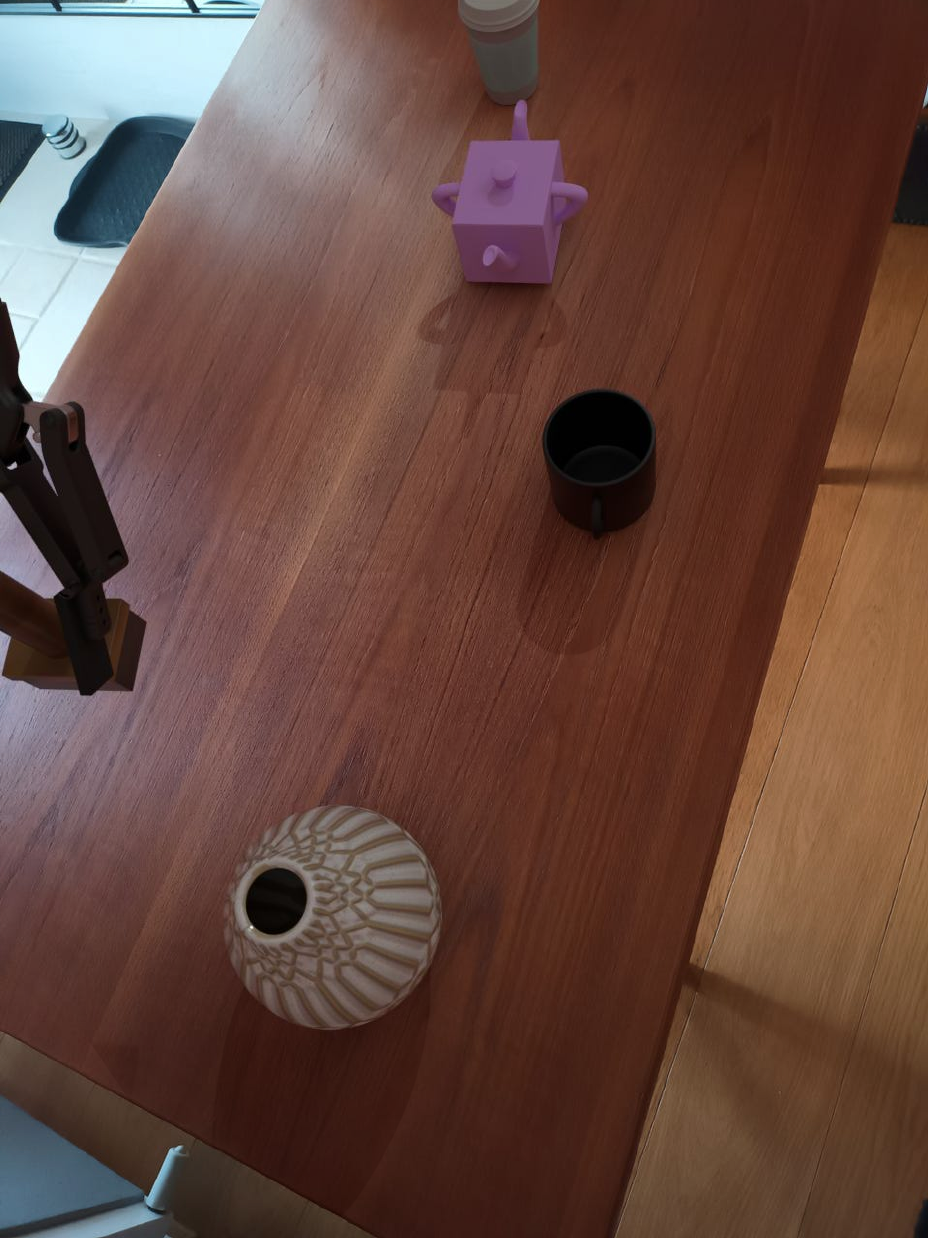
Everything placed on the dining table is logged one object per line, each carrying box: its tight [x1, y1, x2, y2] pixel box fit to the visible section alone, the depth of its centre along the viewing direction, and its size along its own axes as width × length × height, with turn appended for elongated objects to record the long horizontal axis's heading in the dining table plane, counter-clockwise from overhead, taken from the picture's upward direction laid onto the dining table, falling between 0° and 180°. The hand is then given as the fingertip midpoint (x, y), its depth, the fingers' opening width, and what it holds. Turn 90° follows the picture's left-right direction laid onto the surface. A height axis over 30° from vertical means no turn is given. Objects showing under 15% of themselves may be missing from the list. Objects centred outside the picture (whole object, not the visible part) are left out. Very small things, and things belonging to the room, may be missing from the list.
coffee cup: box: [457, 0, 541, 106], centre depth 102 cm, size 8×8×12 cm
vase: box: [222, 804, 443, 1031], centre depth 69 cm, size 16×16×20 cm
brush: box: [0, 569, 148, 692], centre depth 59 cm, size 7×5×14 cm
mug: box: [541, 388, 657, 541], centre depth 83 cm, size 9×12×9 cm
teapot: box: [431, 100, 589, 285], centre depth 94 cm, size 15×13×11 cm
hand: (38, 683), depth 59 cm, fingers closed on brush, 7 cm apart
